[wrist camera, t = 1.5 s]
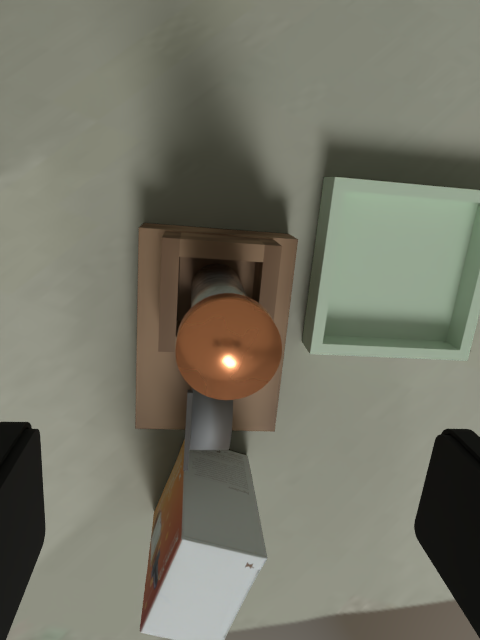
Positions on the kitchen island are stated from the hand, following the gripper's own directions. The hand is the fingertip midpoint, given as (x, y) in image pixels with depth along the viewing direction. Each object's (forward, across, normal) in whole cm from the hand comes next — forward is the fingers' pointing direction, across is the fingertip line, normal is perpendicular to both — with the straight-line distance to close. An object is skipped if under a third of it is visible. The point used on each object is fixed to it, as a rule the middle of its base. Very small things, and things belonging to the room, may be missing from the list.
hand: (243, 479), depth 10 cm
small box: (+23, -1, +18) cm, 29 cm away
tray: (+22, -14, -1) cm, 26 cm away
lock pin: (+20, 0, 0) cm, 20 cm away
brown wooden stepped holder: (+22, -1, +4) cm, 23 cm away
